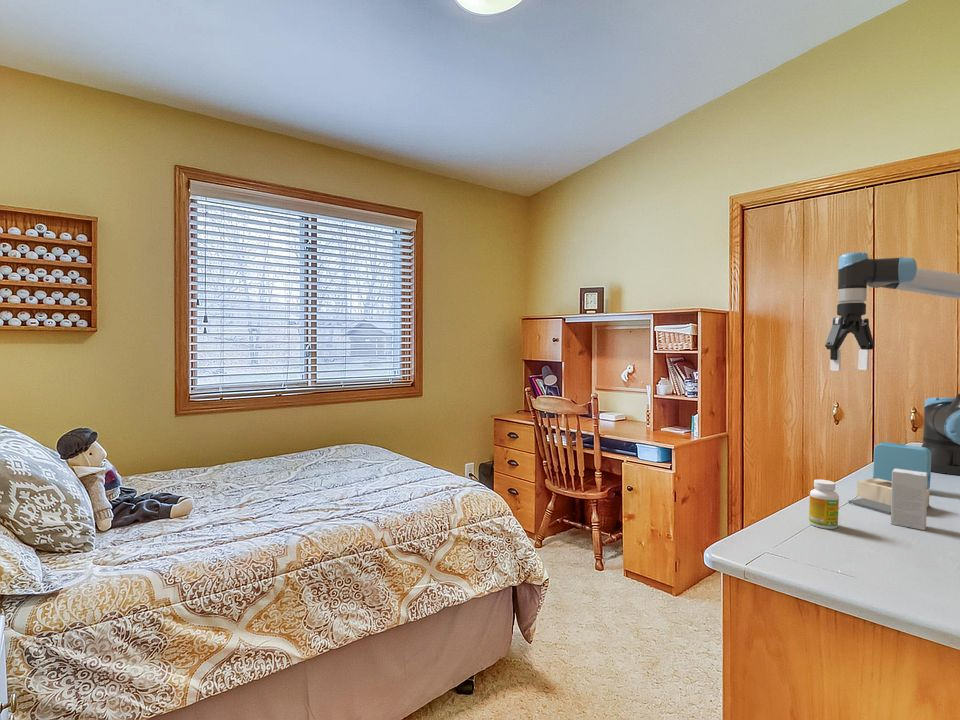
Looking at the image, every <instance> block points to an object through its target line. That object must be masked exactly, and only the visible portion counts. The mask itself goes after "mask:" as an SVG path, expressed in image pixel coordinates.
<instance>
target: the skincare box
mask: <svg viewBox="0 0 960 720" xmlns="http://www.w3.org/2000/svg"><path fill="white" fill-rule="evenodd" d="M927 475H928V474H927V473H926V472H918V471H911V470H903V469H894V470H893V471H892V495H891V514H890V525H894V526H900V527H906V528H911V529H915V530H920V531H921V530H922V531H925V530H926V526H927V512H928V511H927V510H928V507H927Z"/></svg>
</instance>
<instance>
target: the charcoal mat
mask: <svg viewBox="0 0 960 720" xmlns="http://www.w3.org/2000/svg"><path fill="white" fill-rule="evenodd" d="M848 502H849V503H848ZM847 503H848V504H850V503H853V504H855V506H857V505H858V506H857V507H861V508H864V507H865V508H864V509H868V510H871V509H872V511H876V512H879V513H883V514H885V515H890V516H891V505H887V504H884V503H880V502H876V501H872V500H869V499H865V498H861V497H860V498H856V499H851V500H848V501H847ZM853 504H852V505H853ZM929 507H930V503H929Z"/></svg>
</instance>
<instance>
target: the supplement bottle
mask: <svg viewBox="0 0 960 720" xmlns="http://www.w3.org/2000/svg"><path fill="white" fill-rule="evenodd" d="M835 490H836V482H834V481H832V480H827V479H814V480H813V489H812V490H810V491H809V511H808V512H809V513H808V523H809V524H810V525H812V526H813V527H816V528H819V529H820V528H821V529H826V530H833V529H837V528H838V524H839V505H840V504H839V503H840V496H839V494H838V493H837V492H836V491H835Z"/></svg>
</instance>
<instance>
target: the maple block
mask: <svg viewBox="0 0 960 720" xmlns="http://www.w3.org/2000/svg"><path fill="white" fill-rule="evenodd" d="M856 485H857V486H856V497H858V498H860V499H861V498H865V499H869V500H872V501H876V502H880V503H884V504H887V505H891V495H892V482H891V481H887V480H883V479H878V478H875V479H873V478H869V479H863V480H857V484H856ZM930 492H931V491H930V489H928V490H927V508H930V506H929V504H930V494H931V493H930Z"/></svg>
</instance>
